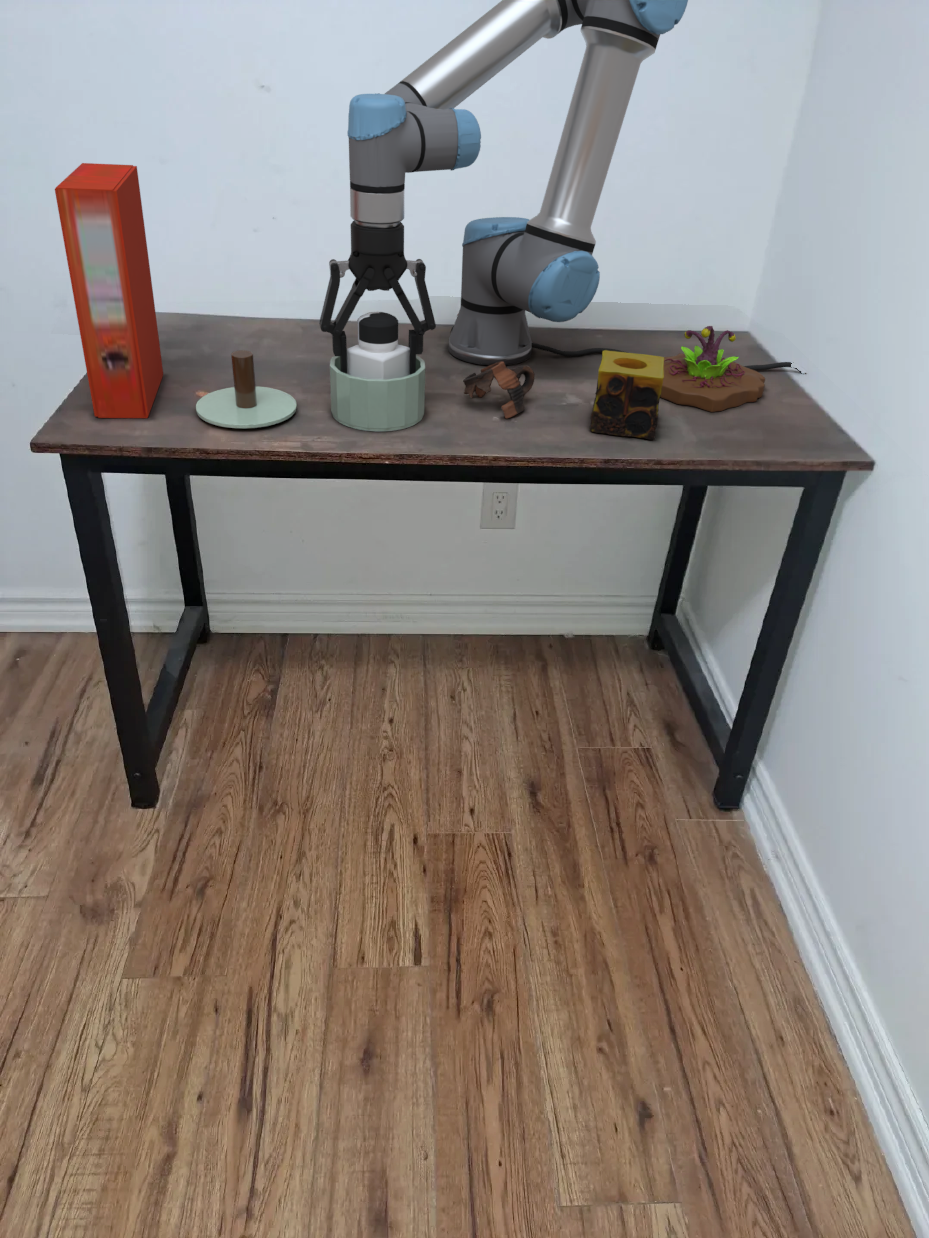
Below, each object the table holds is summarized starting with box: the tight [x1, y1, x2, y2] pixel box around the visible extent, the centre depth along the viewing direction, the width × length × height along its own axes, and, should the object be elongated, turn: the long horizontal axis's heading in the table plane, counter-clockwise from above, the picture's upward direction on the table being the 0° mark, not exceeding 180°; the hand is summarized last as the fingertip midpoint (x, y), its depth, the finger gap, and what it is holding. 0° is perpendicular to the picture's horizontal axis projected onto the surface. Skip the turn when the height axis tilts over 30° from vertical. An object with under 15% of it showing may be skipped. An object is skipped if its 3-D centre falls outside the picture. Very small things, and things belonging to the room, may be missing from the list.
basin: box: [329, 354, 426, 433], centre depth 145 cm, size 14×14×8 cm
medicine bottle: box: [347, 311, 410, 379], centre depth 142 cm, size 7×7×12 cm
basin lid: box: [195, 349, 298, 429], centre depth 143 cm, size 15×15×9 cm
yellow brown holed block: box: [589, 350, 665, 441], centre depth 146 cm, size 10×10×10 cm
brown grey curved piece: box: [462, 361, 535, 420], centre depth 151 cm, size 12×10×8 cm
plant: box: [660, 325, 766, 413], centre depth 160 cm, size 20×20×11 cm
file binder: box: [54, 162, 164, 419], centre depth 139 cm, size 8×17×32 cm, turn 7°
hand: (378, 375), depth 144 cm, fingers closed on medicine bottle, 10 cm apart
